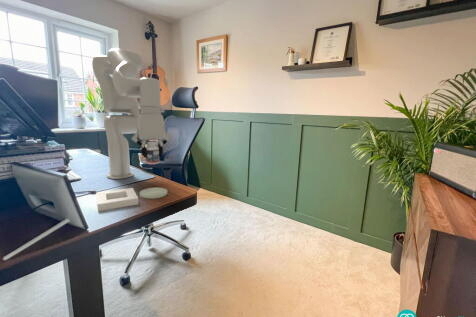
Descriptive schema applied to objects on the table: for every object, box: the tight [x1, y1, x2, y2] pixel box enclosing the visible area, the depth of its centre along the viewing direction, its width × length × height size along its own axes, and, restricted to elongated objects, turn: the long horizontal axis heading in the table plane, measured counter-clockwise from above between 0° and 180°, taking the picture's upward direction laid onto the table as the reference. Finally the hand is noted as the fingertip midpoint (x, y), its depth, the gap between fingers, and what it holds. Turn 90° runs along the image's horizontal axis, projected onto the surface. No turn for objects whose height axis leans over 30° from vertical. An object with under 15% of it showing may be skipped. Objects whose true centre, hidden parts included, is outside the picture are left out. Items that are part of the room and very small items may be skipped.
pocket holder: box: [96, 187, 139, 212], centre depth 88 cm, size 13×13×2 cm
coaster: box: [139, 187, 168, 200], centre depth 97 cm, size 11×11×1 cm
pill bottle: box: [145, 140, 160, 165], centre depth 93 cm, size 5×5×9 cm
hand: (152, 156), depth 94 cm, fingers closed on pill bottle, 5 cm apart
